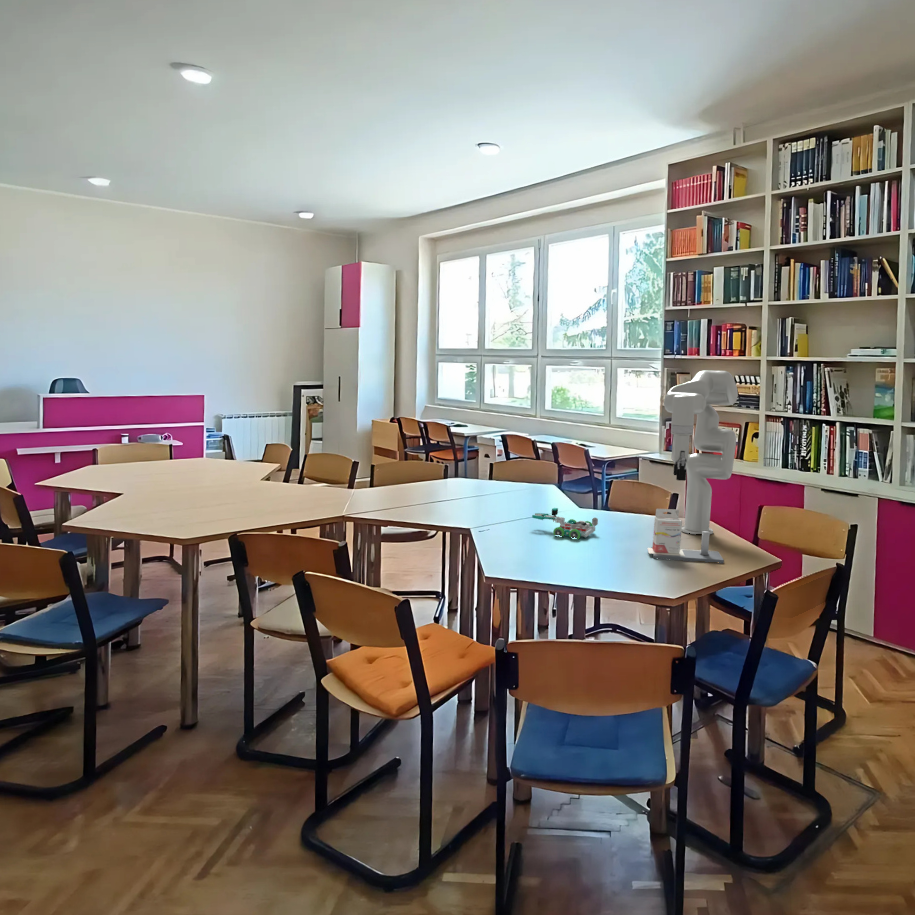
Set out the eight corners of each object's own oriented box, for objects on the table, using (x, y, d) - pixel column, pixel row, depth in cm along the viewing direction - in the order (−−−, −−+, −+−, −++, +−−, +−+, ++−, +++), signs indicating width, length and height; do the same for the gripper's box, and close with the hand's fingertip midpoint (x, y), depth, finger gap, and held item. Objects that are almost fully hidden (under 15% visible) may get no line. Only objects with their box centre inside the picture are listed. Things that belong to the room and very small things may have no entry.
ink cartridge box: (655, 552, 260) (658, 511, 258) (652, 549, 265) (654, 508, 263) (680, 553, 260) (683, 512, 258) (676, 550, 265) (679, 509, 263)
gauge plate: (646, 549, 270) (648, 524, 268) (717, 554, 265) (719, 529, 264) (649, 558, 258) (650, 532, 257) (723, 563, 254) (725, 536, 253)
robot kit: (540, 525, 307) (541, 502, 306) (599, 532, 296) (601, 509, 295) (523, 534, 291) (524, 510, 289) (586, 542, 280) (587, 517, 278)
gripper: (668, 426, 273) (666, 472, 276) (673, 432, 257) (671, 482, 260) (690, 427, 272) (687, 473, 275) (696, 433, 255) (693, 482, 258)
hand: (679, 477), depth 267 cm, fingers open, 9 cm apart
